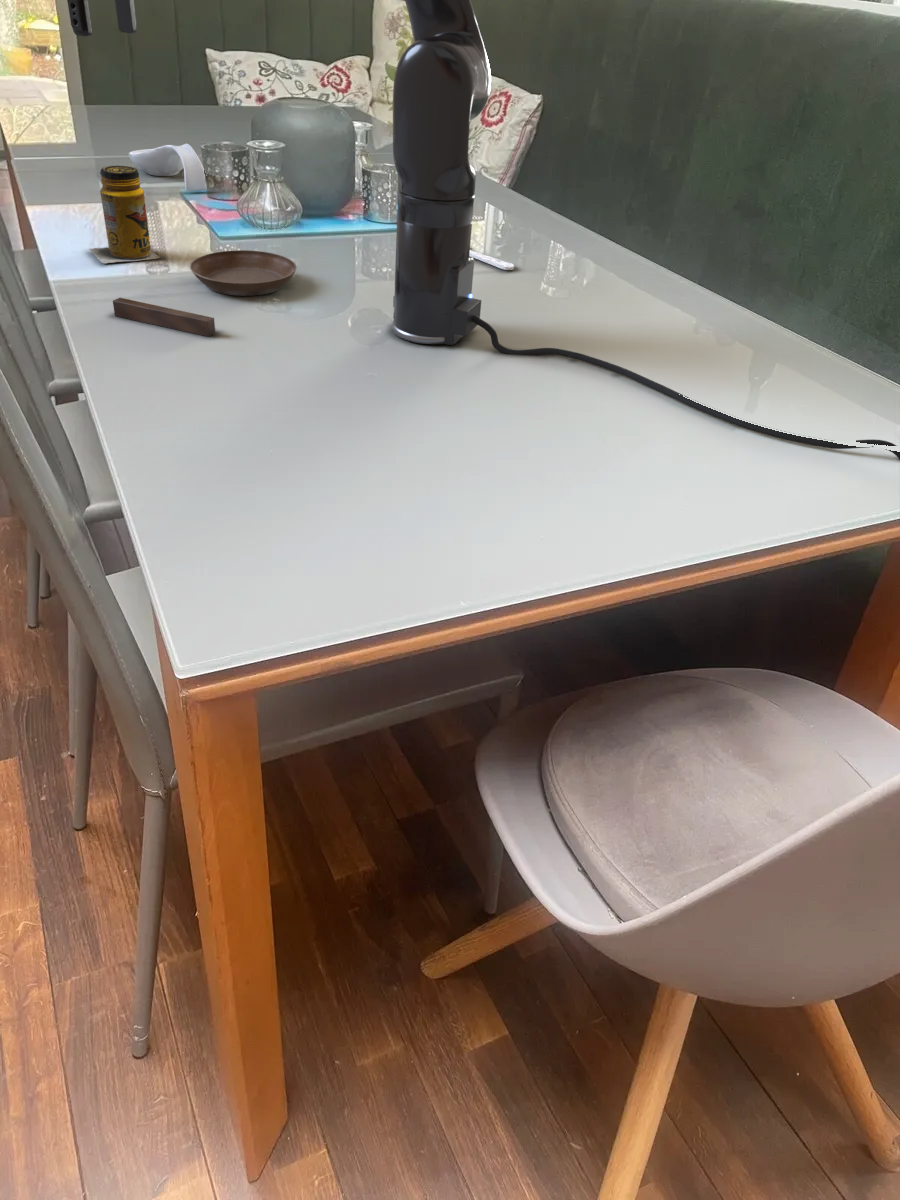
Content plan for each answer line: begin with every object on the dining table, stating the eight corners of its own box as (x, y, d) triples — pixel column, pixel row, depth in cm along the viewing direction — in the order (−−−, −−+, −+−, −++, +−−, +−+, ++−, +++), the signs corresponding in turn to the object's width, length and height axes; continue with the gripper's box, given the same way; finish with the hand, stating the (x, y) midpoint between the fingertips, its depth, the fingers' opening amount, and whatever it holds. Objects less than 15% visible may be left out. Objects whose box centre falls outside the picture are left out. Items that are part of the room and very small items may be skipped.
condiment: (160, 259, 134) (150, 172, 127) (103, 264, 130) (89, 175, 123) (144, 246, 139) (133, 162, 132) (89, 251, 135) (74, 164, 128)
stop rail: (215, 333, 112) (214, 317, 111) (209, 337, 111) (207, 321, 110) (122, 312, 115) (119, 297, 114) (114, 316, 114) (112, 300, 113)
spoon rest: (122, 168, 180) (116, 129, 176) (177, 164, 186) (173, 126, 182) (170, 195, 165) (165, 153, 161) (228, 190, 171) (225, 149, 167)
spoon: (500, 272, 141) (500, 268, 141) (423, 243, 151) (423, 240, 150) (523, 267, 144) (523, 263, 144) (446, 239, 154) (446, 236, 154)
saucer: (234, 308, 119) (232, 288, 118) (170, 280, 127) (168, 260, 125) (318, 288, 129) (318, 269, 127) (254, 262, 136) (253, 244, 135)
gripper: (68, -138, 95) (93, 40, 105) (150, -127, 106) (166, 34, 115) (11, -143, 97) (41, 33, 106) (97, -131, 108) (117, 28, 117)
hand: (106, 34), depth 111 cm, fingers open, 8 cm apart
